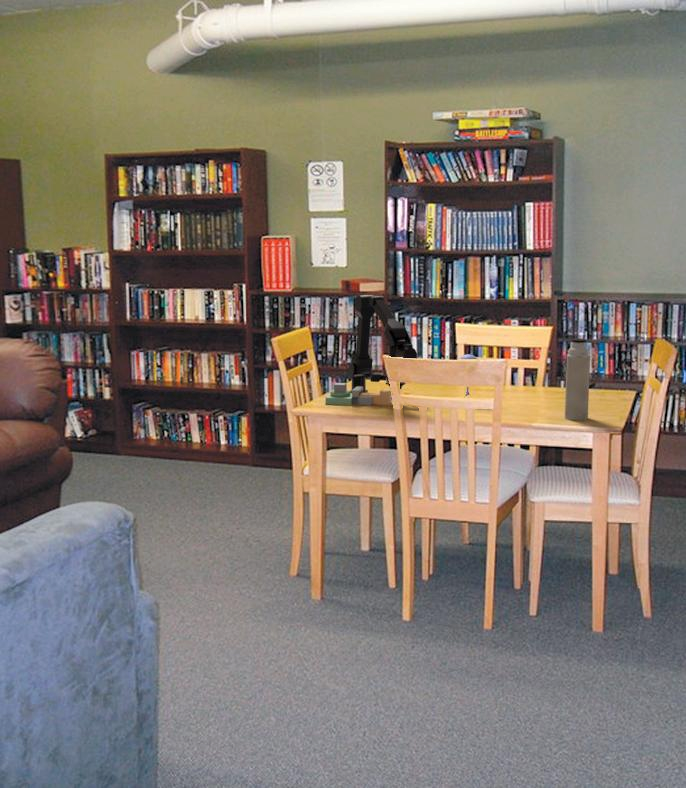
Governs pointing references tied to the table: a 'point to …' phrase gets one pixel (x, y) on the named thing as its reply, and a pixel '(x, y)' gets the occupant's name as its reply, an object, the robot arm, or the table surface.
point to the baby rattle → (468, 356)
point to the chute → (379, 397)
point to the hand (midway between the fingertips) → (396, 400)
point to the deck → (347, 396)
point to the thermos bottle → (577, 381)
